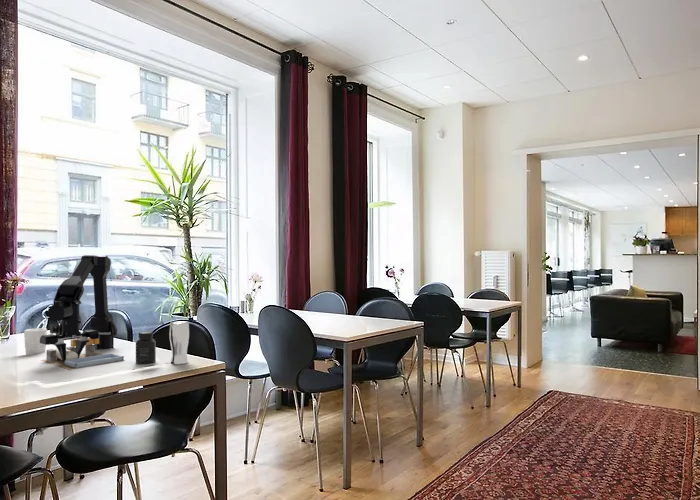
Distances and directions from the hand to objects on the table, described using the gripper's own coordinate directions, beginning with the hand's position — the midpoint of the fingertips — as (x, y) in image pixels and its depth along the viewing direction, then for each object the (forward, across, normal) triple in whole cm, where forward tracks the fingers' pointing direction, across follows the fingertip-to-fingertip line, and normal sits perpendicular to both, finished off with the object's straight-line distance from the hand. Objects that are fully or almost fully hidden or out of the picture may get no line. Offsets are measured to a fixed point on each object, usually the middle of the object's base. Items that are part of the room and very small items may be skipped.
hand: (70, 360), depth 192 cm
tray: (+1, -6, +7) cm, 9 cm away
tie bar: (-4, -8, -8) cm, 12 cm away
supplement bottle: (+2, -18, +21) cm, 27 cm away
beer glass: (+2, -28, +27) cm, 39 cm away
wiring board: (+2, -4, 0) cm, 5 cm away
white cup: (+2, 0, -31) cm, 31 cm away
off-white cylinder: (0, 0, -4) cm, 5 cm away
